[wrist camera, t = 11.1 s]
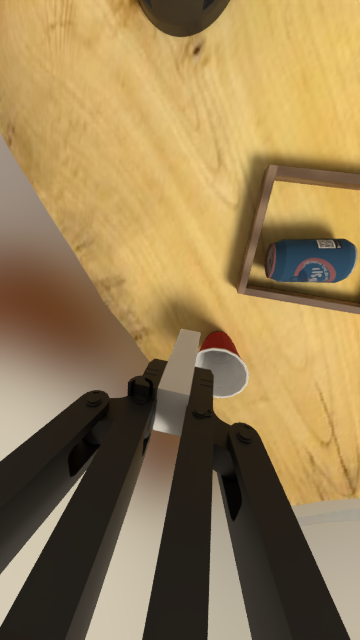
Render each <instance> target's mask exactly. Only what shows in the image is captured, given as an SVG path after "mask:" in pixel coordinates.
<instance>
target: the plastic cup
mask: <svg viewBox="0 0 360 640" xmlns="http://www.w3.org/2000/svg"><path fill="white" fill-rule="evenodd" d="M195 367H200V368H204V369H209V370H211V371H212V373H213V375H214V386H213V397H217V398H226V397H232V396H234V395H236V394H238V393H240V392H242V390H243V389H244V388H245V386H246V385H247V384H248V378H249V373H248V370H247V367H246V364H245V363H244V361H243V360H242V359H241V358H240V356H239V354H238V352H237V350H236V348H235V346H234V343H233V342H232V340H231V338H230V337H229V336H228V335H227V334H225V333H223V332H214V333H211V334H210V335H209V336H208V337H207V338H206V340H205V342H204V343H203V345H202V347H201V349H200V351H199V352H198V353H197V357H196V363H195Z"/></svg>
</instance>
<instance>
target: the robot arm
mask: <svg viewBox="0 0 360 640" xmlns="http://www.w3.org/2000/svg"><path fill="white" fill-rule="evenodd" d="M229 1H230V0H139V2H140V5H141V7H142V9H143V11H144V12H145V14H146V16H147V17H148V18H149V20H150V21H151V22H152V23H153V24H154V25H155V26H156V27H157V28H158V29H160V30H161V31H163V32H164V33H166V34H169V35H172V36H177V37H186V36H191V35H194V34H197V33H199V32H201V31H203V30H204V29H206V28H207V27H208V26H210V25H211V24H212V23H213V22H214V21H215V20H216V19H217V18H218V17H219V16H220V15H221V13H222V12H223V11H224V9H225V8H226V6H227V5H228V3H229ZM200 335H201V332H196V331H191V330H186V329H181V330H180V332H179V335H178V337H177V340H176V342H175V345H174V348H173V350H172V353H171V355H170V358H169V360H168V361H164V360H159V359H154V360H152V361H151V362H149V364H148V366H147V368H146V370H145V372H144V374H143V375H142V376H136V377H134V378H132V379H130V381H129V382H128V396H126V397H123V398H109V396H108V394H107V393H105V392H104V391H100V390H94V391H90V392H87V393H86V394H84V395H82V396H81V397H80V398H79V399H77V400H76V401H75V402H74V403H72V404H71V405H70V406H69V407H67V408H66V409H65V410H64V411H62V412H61V413H60V414H59V415H58V416H56V417H55V418H54V419H52V420H51V421H50V422H49V423H48V424H46V425H45V426H44V427H43V428H41V429H40V430H39V431H38V432H36V433H35V434H34V435H33V436H31V437H30V438H29V439H28V440H27V441H25V442H24V443H23V444H21V445H20V446H19V447H18V448H17V449H15V450H14V451H13V452H11V453H10V454H9V455H8V456H7V457H5V458H4V459H3V460H2V461H0V574H1V573H2V571H3V570H4V569H5V568H6V567H7V565H8V564H9V563H10V562H11V561H12V559H13V558H14V557H15V556H16V555H17V553H18V552H19V551H20V550H21V549H22V547H23V546H24V545H25V544H26V542H27V541H28V540H29V539H30V538H31V536H32V535H33V534H34V533H35V532H36V530H37V529H38V528H39V527H40V525H41V524H42V523H43V522H44V521H45V519H46V518H47V517H48V516H49V515H50V513H51V512H52V511H53V510H54V508H55V507H56V506H57V505H58V504H59V502H60V501H61V500H62V499H63V498H64V496H65V495H66V494H67V493H68V491H69V490H70V489H71V488H72V487H73V486H74V484H75V483H76V482H77V481H78V479H79V478H80V477H81V476H82V475H83V473H84V472H85V471H86V472H85V474H84V476H83V478H82V479H81V482H80V483H79V485H78V487H77V489H76V490H75V492H74V494H73V496H72V498H71V499H70V501H69V503H68V505H67V507H66V509H65V510H64V512H63V514H62V516H61V518H60V520H59V521H58V523H57V525H56V527H55V529H54V530H53V532H52V534H51V536H50V538H49V540H48V541H47V543H46V545H45V547H44V549H43V550H42V553H41V554H40V556H39V558H38V560H37V561H36V563H35V565H34V567H33V569H32V570H31V572H30V574H29V576H28V578H27V580H26V581H25V583H24V585H23V587H22V589H21V591H20V592H19V594H18V596H17V598H16V600H15V601H14V603H13V605H12V607H11V609H10V610H9V612H8V614H7V616H6V618H5V620H4V621H3V623H2V625H1V627H0V640H85V637H86V634H87V631H88V628H89V625H90V622H91V619H92V616H93V613H94V610H95V607H96V604H97V601H98V598H99V594H100V592H101V589H102V585H103V582H104V579H105V576H106V573H107V570H108V567H109V564H110V561H111V558H112V555H113V552H114V549H115V545H116V543H117V540H118V536H119V533H120V530H121V527H122V524H123V521H124V518H125V515H126V512H127V509H128V506H129V503H130V500H131V497H132V494H133V490H134V487H135V484H136V481H137V478H138V475H139V472H140V469H141V466H142V463H143V460H144V457H145V454H146V451H147V448H148V445H149V442H150V436H151V431H152V428H153V429H154V430H157V431H161V432H165V433H169V434H173V435H178V436H181V438H180V444H179V449H178V454H177V460H176V464H175V470H174V476H173V480H172V486H171V491H170V496H169V501H168V507H167V512H166V517H165V522H164V528H163V533H162V538H161V544H160V549H159V554H158V559H157V565H156V570H155V575H154V580H153V586H152V591H151V596H150V602H149V607H148V612H147V617H146V623H145V628H144V633H143V638H142V640H207V637H208V604H209V571H210V539H211V538H210V537H211V506H212V505H211V503H212V472H213V470H215V471H216V472H217V475H218V480H219V485H220V489H221V494H222V499H223V504H224V508H225V513H226V518H227V522H228V527H229V532H230V537H231V542H232V547H233V551H234V556H235V561H236V566H237V570H238V575H239V580H240V584H241V589H242V594H243V598H244V604H245V608H246V613H247V618H248V622H249V627H250V632H251V637H252V640H350V638H349V635H348V633H347V631H346V628H345V626H344V624H343V622H342V620H341V617H340V615H339V613H338V611H337V608H336V606H335V604H334V602H333V599H332V597H331V595H330V593H329V591H328V588H327V586H326V584H325V581H324V579H323V577H322V575H321V573H320V570H319V568H318V566H317V564H316V561H315V559H314V557H313V555H312V552H311V550H310V548H309V546H308V543H307V541H306V539H305V537H304V534H303V532H302V530H301V528H300V525H299V523H298V521H297V519H296V516H295V514H294V512H293V510H292V508H291V505H290V503H289V501H288V499H287V496H286V494H285V492H284V490H283V487H282V485H281V483H280V481H279V478H278V476H277V474H276V472H275V469H274V467H273V465H272V463H271V460H270V458H269V456H268V454H267V451H266V449H265V447H264V445H263V443H262V440H261V438H260V436H259V434H258V433H257V431H256V430H255V429H254V428H252V427H251V426H249V425H247V424H245V423H240V422H239V423H234V424H233V425H229V424H227V423H225V422H223V421H222V420H220V419H219V418H218V417H217V416H216V414H215V413H214V411H213V386H214V375H213V373H212V371H211V370H209V369H204V368H200V367H195V363H196V357H197V351H198V346H199V340H200Z"/></svg>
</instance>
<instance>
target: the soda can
mask: <svg viewBox="0 0 360 640" xmlns="http://www.w3.org/2000/svg"><path fill="white" fill-rule="evenodd" d="M356 262H357V249H356V246H355V245H354V244H352V243H351V242H349V241H348V240H346V239H288V240H281V241H279V242H276V243H274V244H273V243H272V244H270V245H269V248H268V251H267V255H266V262H265V273H266V277H267V278H271V279H273V280H275V281H277V282H324V283H335V282H339V281H341V280H343V279H345V278H347V277H348V276H350V275H351V273H352V272H353V270H354V268H355V266H356Z"/></svg>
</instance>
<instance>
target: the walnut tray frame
mask: <svg viewBox="0 0 360 640" xmlns="http://www.w3.org/2000/svg"><path fill="white" fill-rule="evenodd" d="M274 180H276V181H284V182H293V183H301V184H310V185H319V186H327V187H336V188H344V189H353V190H360V174H353V173H343V172H334V171H325V170H316V169H307V168H298V167H289V166H279V165H269V166H268V168H267V169H266V170H265V174H264V178H263V182H262V186H261V190H260V194H259V198H258V202H257V206H256V210H255V215H254V219H253V223H252V227H251V231H250V235H249V239H248V243H247V247H246V251H245V255H244V260H243V264H242V268H241V272H240V276H239V280H238V284H237V288H236V289H237V293H238V294H244V295H250V296H256V297H262V298H268V299H273V300H279V301H285V302H291V303H297V304H302V305H308V306H314V307H320V308H326V309H332V310H337V311H343V312H349V313H355V314H360V303H356V302H350V301H344V300H338V299H332V298H326V297H320V296H314V295H308V294H302V293H296V292H290V291H284V290H278V289H272V288H266V287H260V286H254V285H248V284H247V282H248V278H249V274H250V271H251V267H252V263H253V259H254V255H255V252H256V248H257V244H258V240H259V236H260V233H261V229H262V225H263V221H264V217H265V214H266V210H267V206H268V202H269V198H270V195H271V191H272V187H273V183H274Z"/></svg>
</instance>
